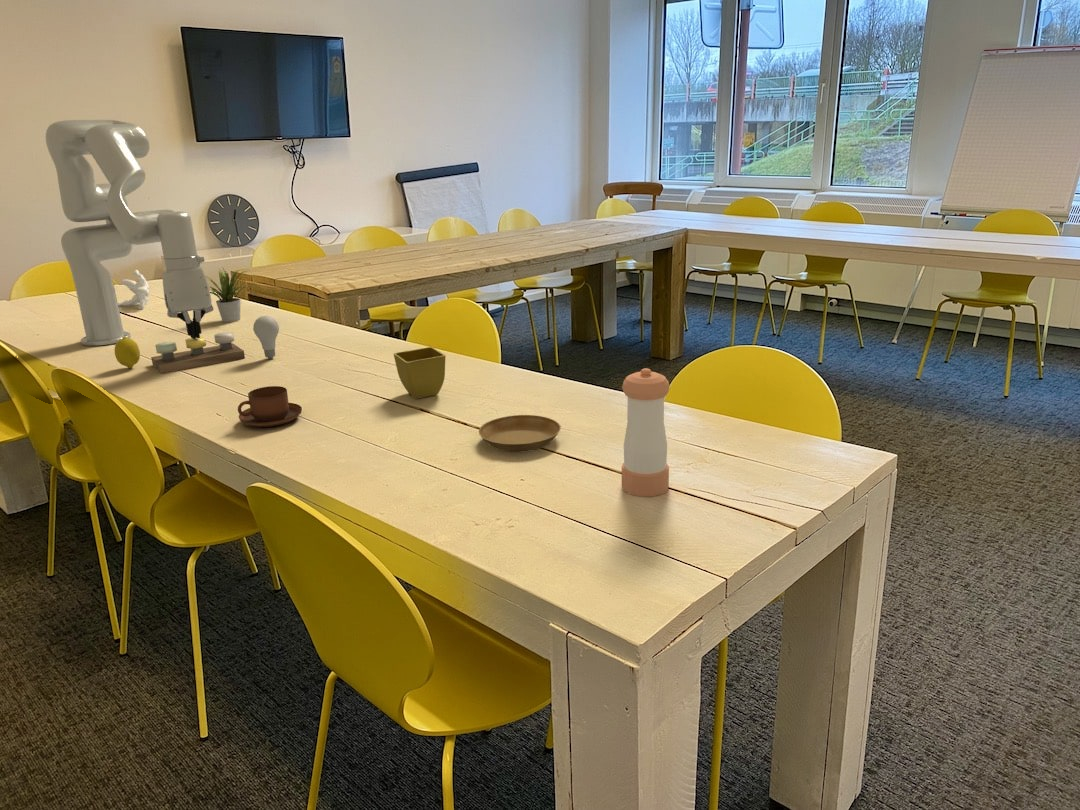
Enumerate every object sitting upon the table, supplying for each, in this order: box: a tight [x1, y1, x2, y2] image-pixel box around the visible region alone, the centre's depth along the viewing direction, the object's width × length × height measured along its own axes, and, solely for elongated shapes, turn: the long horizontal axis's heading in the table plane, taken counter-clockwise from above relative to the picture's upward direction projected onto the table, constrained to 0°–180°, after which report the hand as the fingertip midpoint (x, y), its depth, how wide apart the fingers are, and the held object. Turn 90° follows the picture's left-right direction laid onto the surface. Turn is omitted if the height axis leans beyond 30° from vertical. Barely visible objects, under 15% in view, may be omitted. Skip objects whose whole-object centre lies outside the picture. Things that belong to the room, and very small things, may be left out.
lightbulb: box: [252, 315, 280, 360], centre depth 206 cm, size 6×6×11 cm
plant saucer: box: [478, 414, 562, 453], centre depth 148 cm, size 15×15×3 cm
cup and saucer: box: [237, 385, 303, 428], centre depth 163 cm, size 12×12×6 cm
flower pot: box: [393, 346, 447, 399], centre depth 175 cm, size 9×9×9 cm
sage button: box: [155, 341, 178, 361], centre depth 203 cm, size 5×5×4 cm
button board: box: [150, 342, 246, 374], centre depth 208 cm, size 10×20×2 cm, turn 125°
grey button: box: [213, 331, 235, 351], centre depth 211 cm, size 5×5×4 cm
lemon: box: [114, 337, 141, 369], centre depth 203 cm, size 6×6×8 cm
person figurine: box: [118, 269, 150, 310], centre depth 278 cm, size 13×13×18 cm
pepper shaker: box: [621, 367, 671, 498], centre depth 125 cm, size 7×7×19 cm
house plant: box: [205, 266, 250, 323], centre depth 249 cm, size 14×14×16 cm
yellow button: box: [184, 336, 207, 356], centre depth 207 cm, size 5×5×4 cm
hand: (195, 337), depth 206 cm, fingers closed
